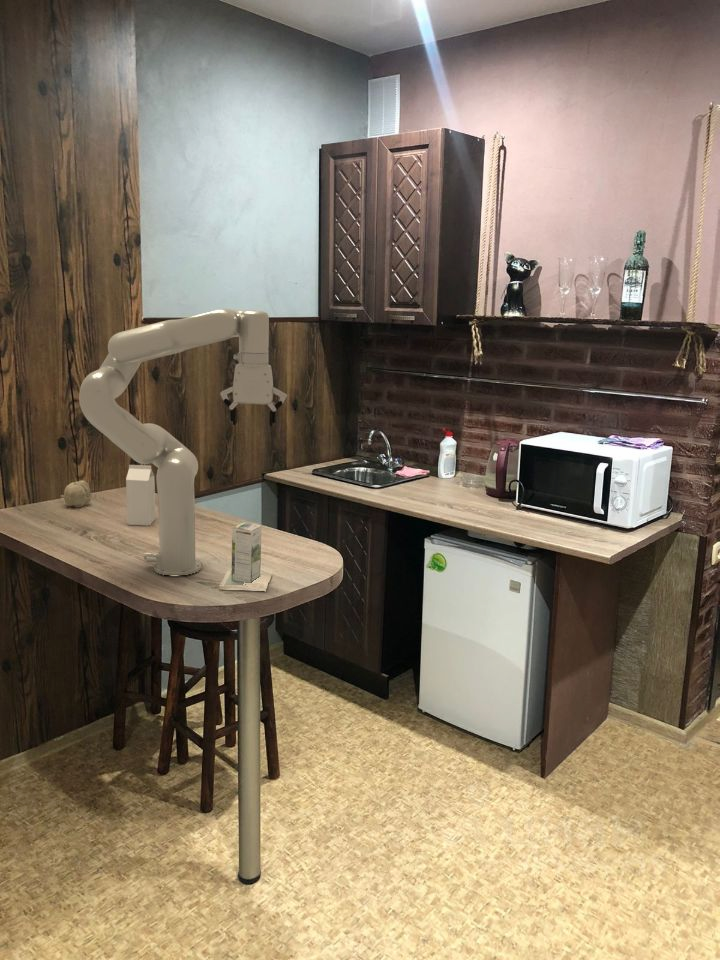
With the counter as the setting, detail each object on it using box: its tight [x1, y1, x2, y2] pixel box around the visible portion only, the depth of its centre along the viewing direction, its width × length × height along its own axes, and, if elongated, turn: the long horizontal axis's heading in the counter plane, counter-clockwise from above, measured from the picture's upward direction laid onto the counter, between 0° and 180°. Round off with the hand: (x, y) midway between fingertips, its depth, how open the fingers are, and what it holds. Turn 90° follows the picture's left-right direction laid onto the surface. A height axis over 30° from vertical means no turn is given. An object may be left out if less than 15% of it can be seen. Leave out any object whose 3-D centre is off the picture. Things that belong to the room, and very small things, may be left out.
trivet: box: [218, 570, 265, 588], centre depth 208 cm, size 12×12×1 cm
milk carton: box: [125, 464, 156, 526], centre depth 255 cm, size 7×7×19 cm
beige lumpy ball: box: [60, 480, 92, 508], centre depth 272 cm, size 9×8×10 cm
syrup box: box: [231, 522, 263, 583], centre depth 207 cm, size 6×6×14 cm
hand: (253, 424), depth 209 cm, fingers open, 9 cm apart
